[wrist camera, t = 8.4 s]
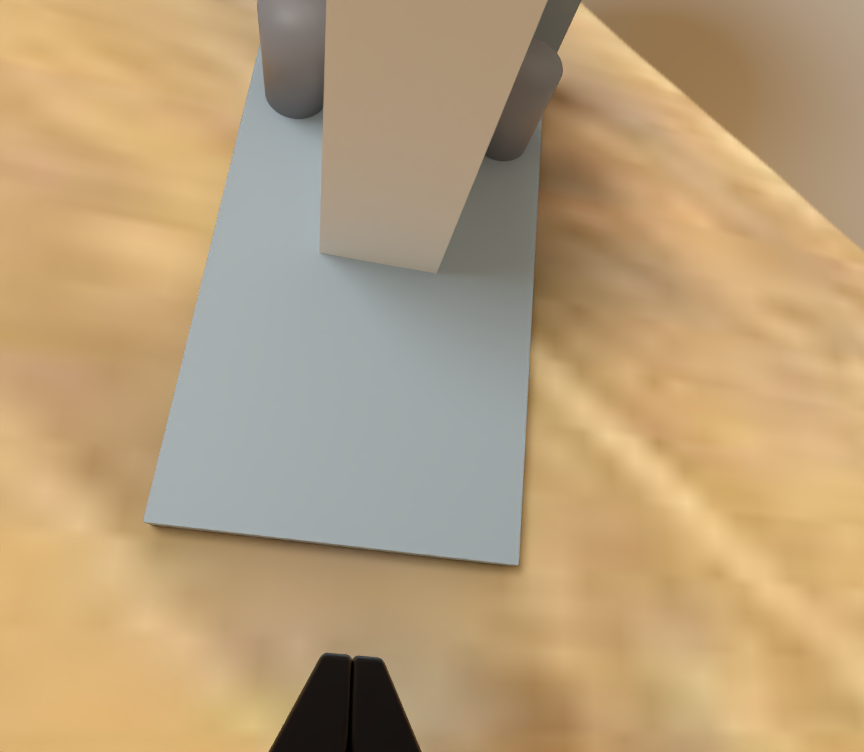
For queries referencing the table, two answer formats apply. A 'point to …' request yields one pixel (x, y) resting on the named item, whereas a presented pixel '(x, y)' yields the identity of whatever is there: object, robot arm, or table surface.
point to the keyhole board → (358, 338)
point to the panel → (411, 118)
